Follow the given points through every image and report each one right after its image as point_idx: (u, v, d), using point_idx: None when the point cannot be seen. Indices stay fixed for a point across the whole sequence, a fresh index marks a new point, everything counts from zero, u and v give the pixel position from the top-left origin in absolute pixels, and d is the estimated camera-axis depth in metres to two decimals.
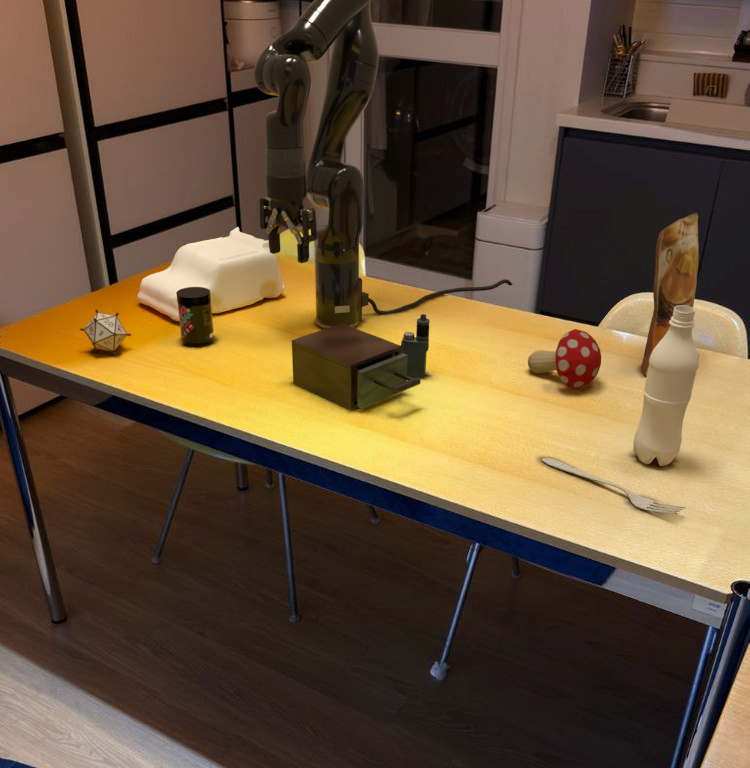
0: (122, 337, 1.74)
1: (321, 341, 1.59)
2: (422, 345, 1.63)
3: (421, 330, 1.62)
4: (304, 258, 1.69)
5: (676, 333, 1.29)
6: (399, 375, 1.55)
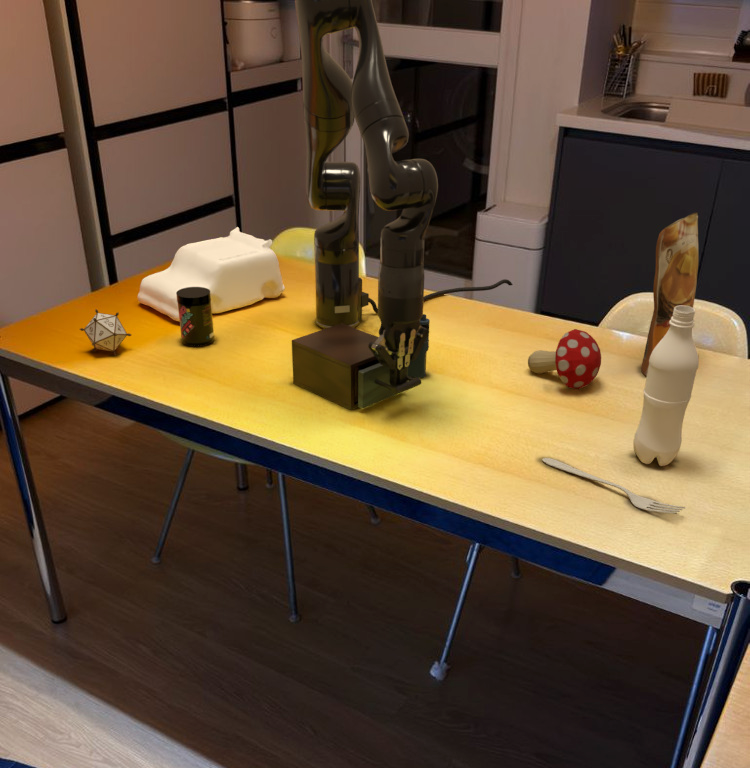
0: (122, 337, 1.74)
1: (321, 341, 1.59)
2: None
3: None
4: (390, 382, 1.52)
5: (676, 333, 1.29)
6: None
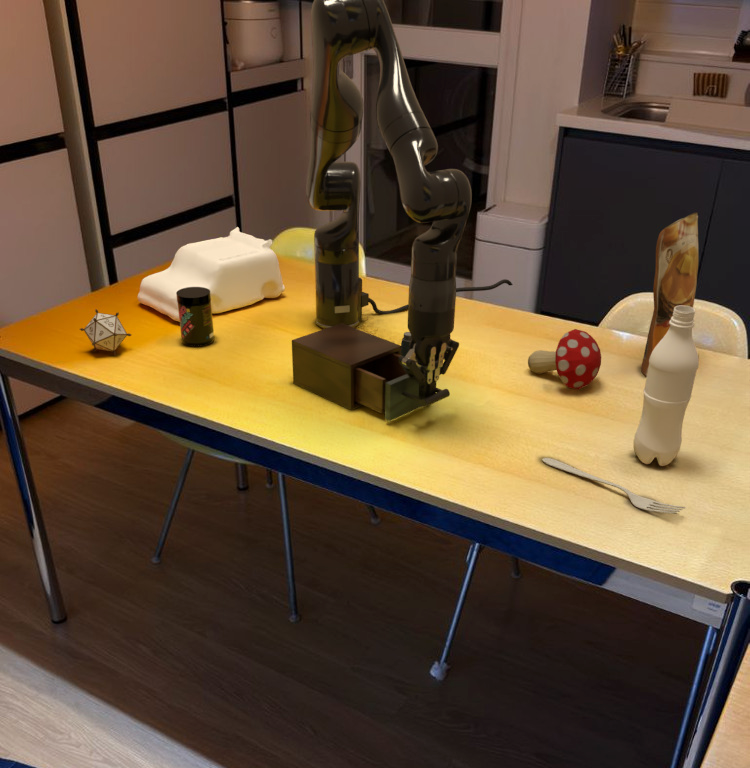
0: (122, 337, 1.74)
1: (321, 341, 1.59)
2: None
3: None
4: (419, 396, 1.48)
5: (676, 333, 1.29)
6: None
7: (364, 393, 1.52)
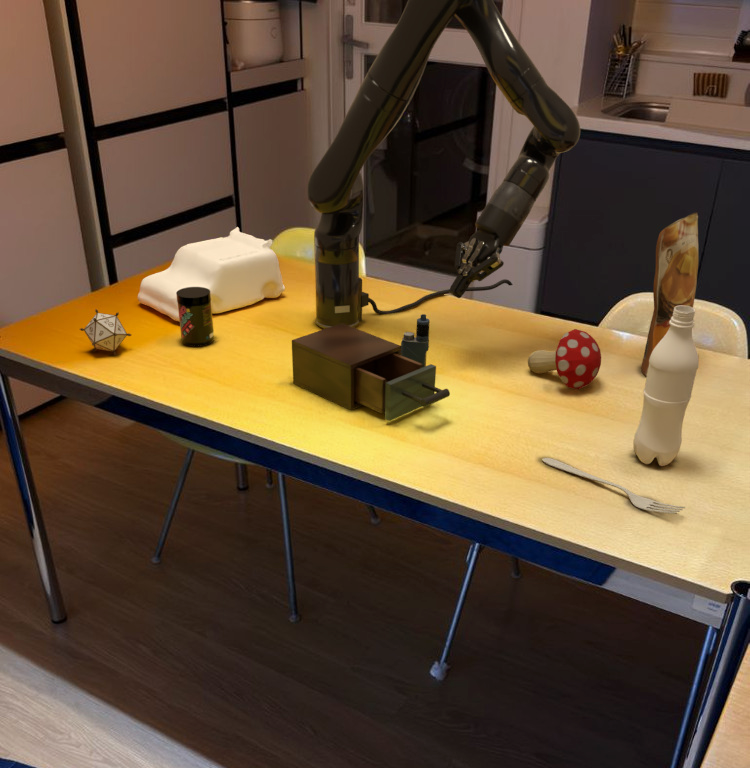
0: (122, 337, 1.74)
1: (321, 341, 1.59)
2: (422, 345, 1.63)
3: (421, 330, 1.62)
4: (459, 291, 1.63)
5: (676, 333, 1.29)
6: (427, 387, 1.51)
7: (364, 393, 1.52)
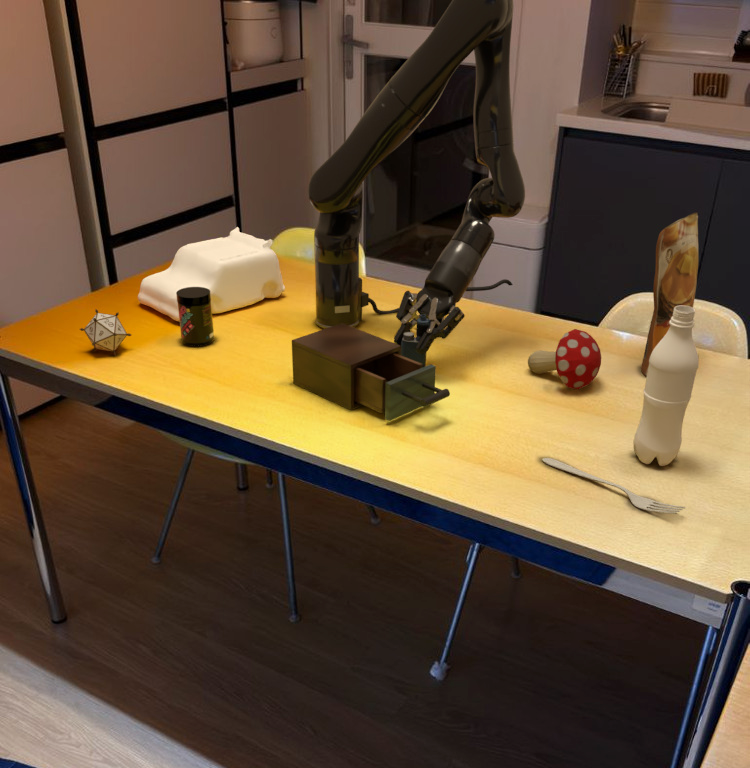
0: (122, 337, 1.74)
1: (321, 341, 1.59)
2: None
3: (421, 330, 1.62)
4: (424, 348, 1.61)
5: (676, 333, 1.29)
6: (427, 387, 1.51)
7: (364, 393, 1.52)
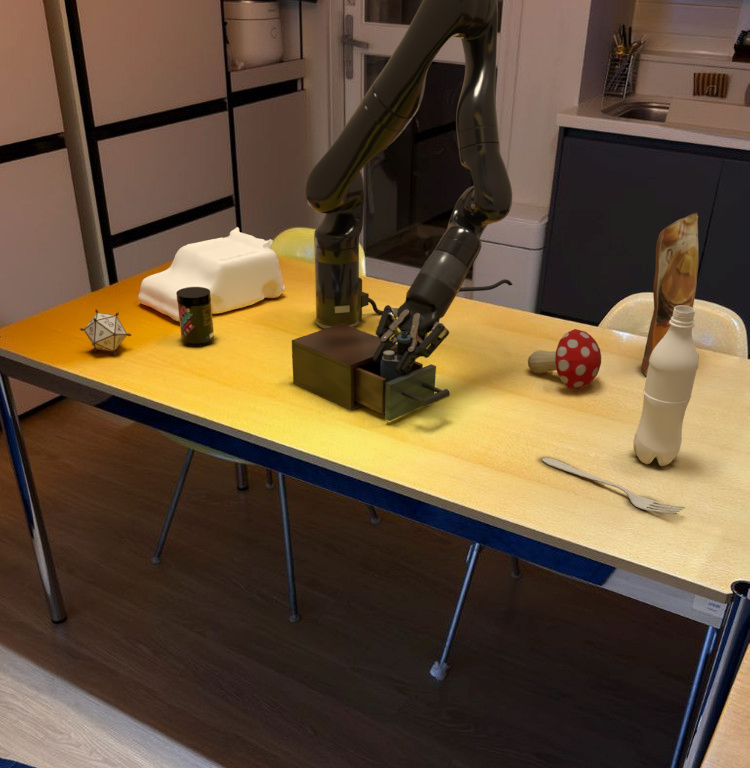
0: (122, 337, 1.74)
1: (321, 341, 1.59)
2: None
3: (402, 349, 1.49)
4: (405, 368, 1.48)
5: (676, 333, 1.29)
6: (427, 387, 1.51)
7: (364, 393, 1.52)
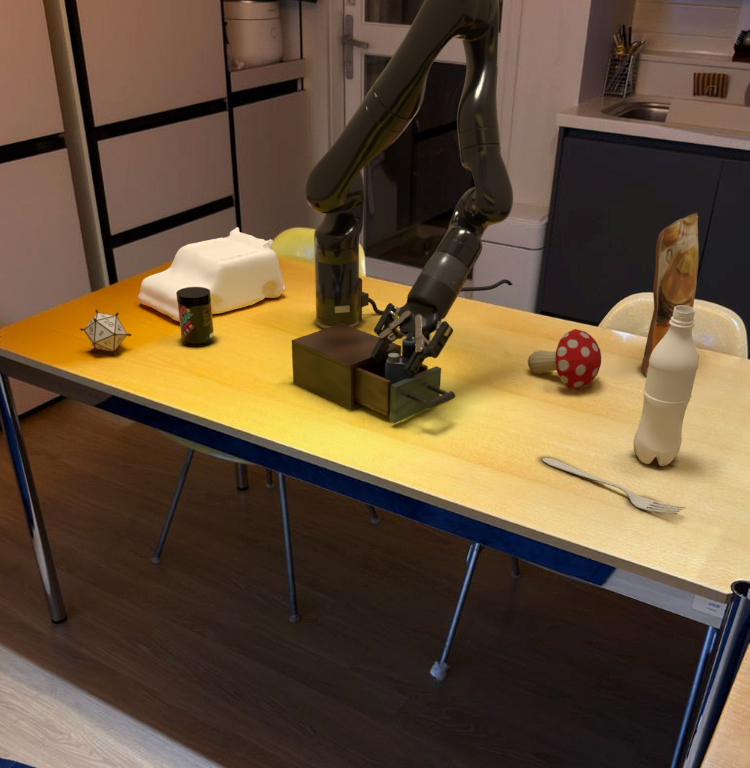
0: (122, 337, 1.74)
1: (321, 341, 1.59)
2: None
3: (407, 351, 1.48)
4: (413, 368, 1.47)
5: (676, 333, 1.29)
6: (433, 389, 1.50)
7: (369, 395, 1.52)
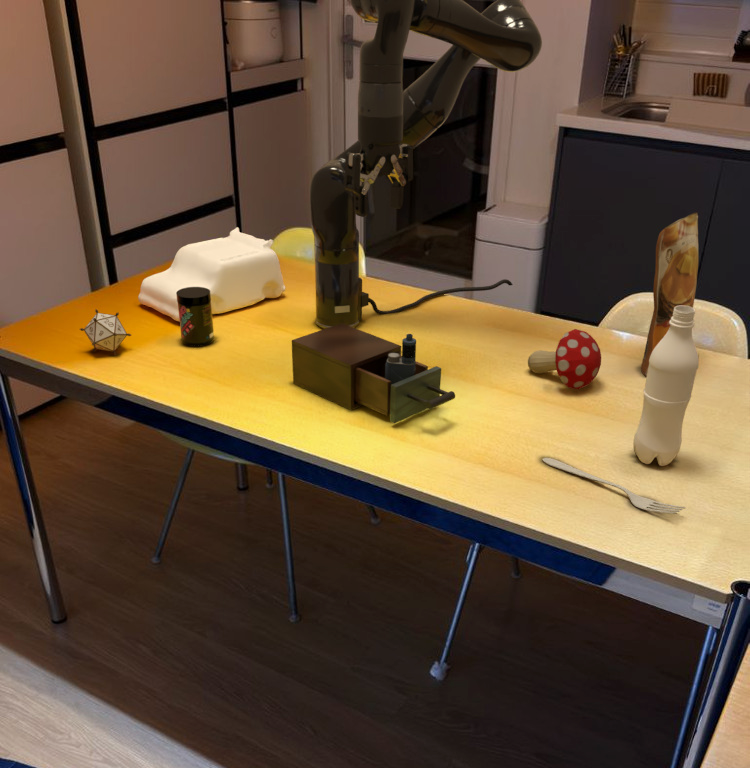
0: (122, 337, 1.74)
1: (321, 341, 1.59)
2: (408, 367, 1.50)
3: (407, 351, 1.48)
4: (355, 210, 1.50)
5: (676, 333, 1.29)
6: (433, 389, 1.50)
7: (369, 395, 1.52)
